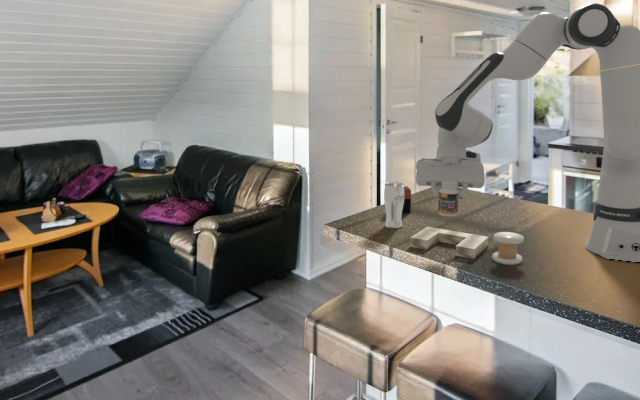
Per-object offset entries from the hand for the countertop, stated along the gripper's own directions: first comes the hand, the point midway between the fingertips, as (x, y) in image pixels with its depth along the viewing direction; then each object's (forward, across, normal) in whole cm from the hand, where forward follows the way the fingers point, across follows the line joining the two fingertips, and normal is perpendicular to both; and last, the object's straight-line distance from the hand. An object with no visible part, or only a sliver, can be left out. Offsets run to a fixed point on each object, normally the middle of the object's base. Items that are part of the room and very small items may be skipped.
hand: (448, 197), depth 150 cm
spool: (+15, +17, +7) cm, 24 cm away
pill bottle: (+4, 0, +4) cm, 5 cm away
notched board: (+10, +1, +13) cm, 16 cm away
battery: (-16, -18, +39) cm, 46 cm away
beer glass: (-2, -18, +26) cm, 32 cm away
